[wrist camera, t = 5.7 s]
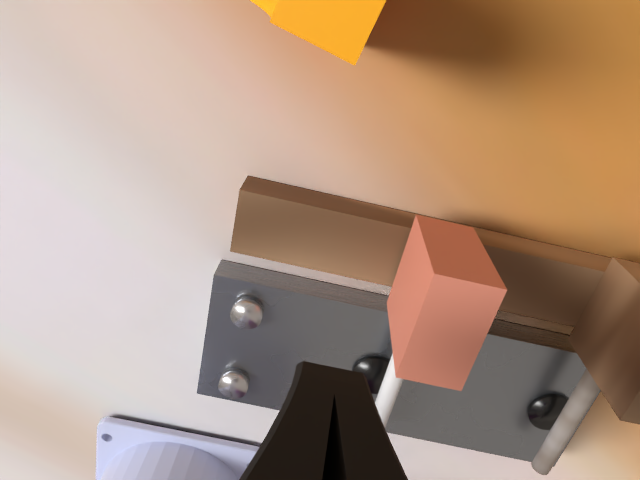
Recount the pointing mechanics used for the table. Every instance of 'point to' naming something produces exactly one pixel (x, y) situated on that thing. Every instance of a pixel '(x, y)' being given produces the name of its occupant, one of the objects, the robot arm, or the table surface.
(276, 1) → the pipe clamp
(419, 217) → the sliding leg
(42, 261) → the table surface
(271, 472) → the robot arm
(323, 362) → the strip
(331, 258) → the trammel bar
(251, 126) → the table surface
